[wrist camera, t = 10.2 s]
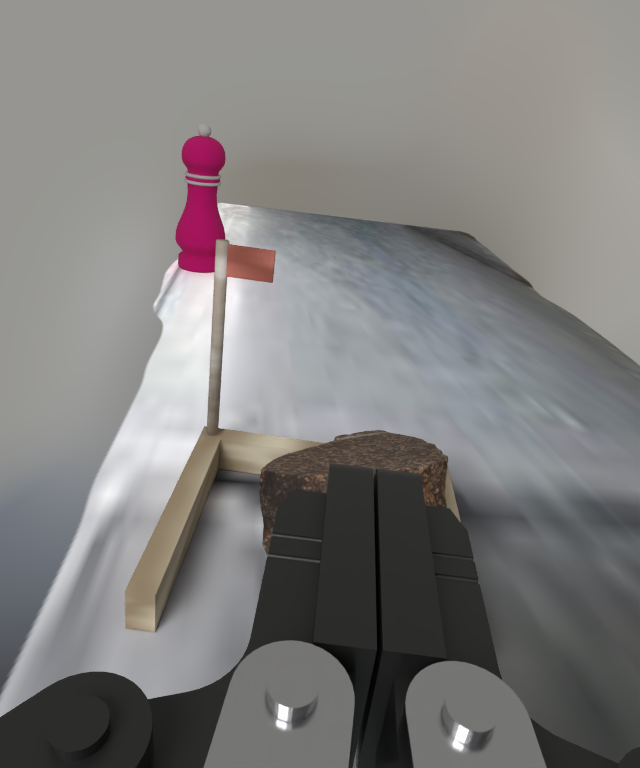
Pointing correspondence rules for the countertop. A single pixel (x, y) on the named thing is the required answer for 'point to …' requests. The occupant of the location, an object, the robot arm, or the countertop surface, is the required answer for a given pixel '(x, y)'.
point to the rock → (355, 450)
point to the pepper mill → (201, 203)
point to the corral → (209, 457)
